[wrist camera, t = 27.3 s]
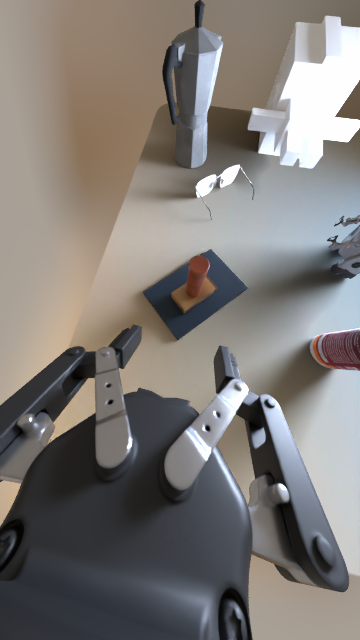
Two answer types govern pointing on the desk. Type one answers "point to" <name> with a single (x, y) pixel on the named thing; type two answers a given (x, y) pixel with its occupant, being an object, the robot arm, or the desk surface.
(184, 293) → the stamp
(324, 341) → the pill bottle
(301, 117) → the white voxel figure
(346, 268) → the figurine
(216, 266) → the mat
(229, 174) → the eyeglasses
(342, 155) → the desk surface
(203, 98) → the coffeepot
